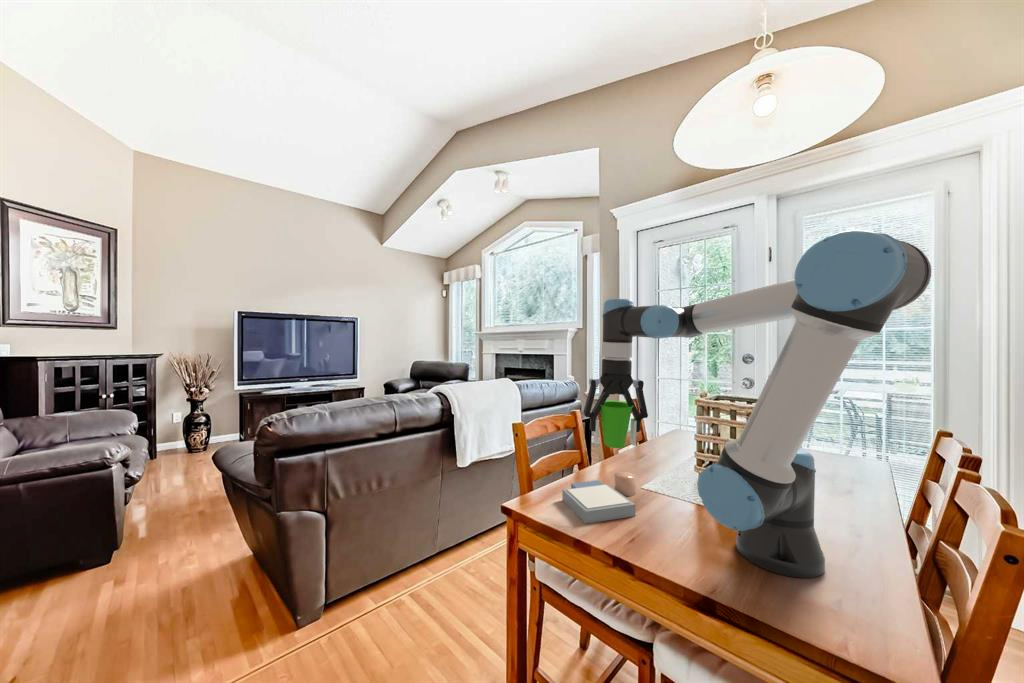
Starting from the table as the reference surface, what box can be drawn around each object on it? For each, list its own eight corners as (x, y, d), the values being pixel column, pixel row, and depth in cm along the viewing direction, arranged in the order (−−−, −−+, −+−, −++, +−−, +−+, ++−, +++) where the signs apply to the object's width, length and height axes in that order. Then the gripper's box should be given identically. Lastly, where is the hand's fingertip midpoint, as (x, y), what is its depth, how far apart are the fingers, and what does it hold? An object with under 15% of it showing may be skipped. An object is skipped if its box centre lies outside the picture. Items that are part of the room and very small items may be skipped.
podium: (635, 515, 98) (635, 503, 98) (585, 523, 94) (585, 510, 94) (606, 494, 112) (606, 483, 112) (562, 500, 108) (562, 488, 108)
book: (608, 495, 112) (608, 487, 112) (580, 499, 109) (580, 491, 109) (597, 487, 118) (598, 480, 118) (570, 491, 115) (571, 483, 115)
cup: (632, 442, 105) (633, 402, 104) (631, 452, 96) (633, 409, 96) (598, 438, 108) (599, 399, 107) (595, 448, 99) (596, 406, 98)
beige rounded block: (640, 494, 111) (640, 477, 111) (621, 497, 110) (621, 480, 110) (628, 487, 117) (628, 470, 117) (610, 489, 116) (610, 472, 115)
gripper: (653, 357, 104) (650, 440, 106) (572, 356, 105) (571, 438, 106) (664, 360, 97) (661, 448, 98) (577, 359, 97) (575, 447, 98)
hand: (614, 443), depth 102 cm, fingers closed on cup, 9 cm apart
